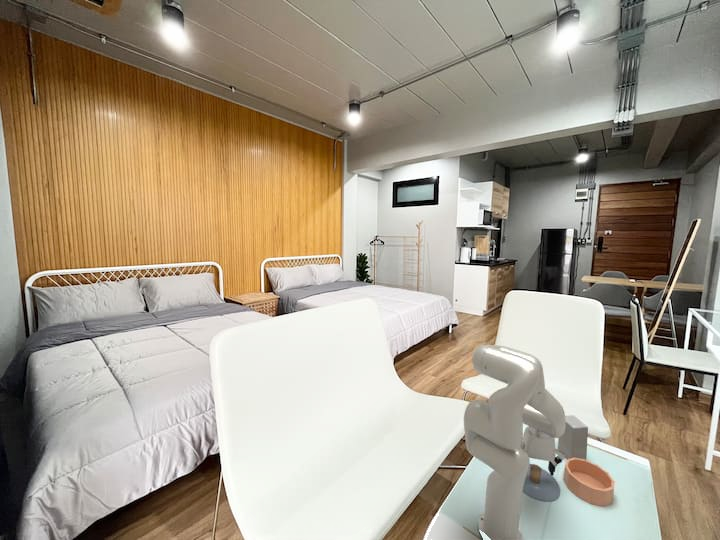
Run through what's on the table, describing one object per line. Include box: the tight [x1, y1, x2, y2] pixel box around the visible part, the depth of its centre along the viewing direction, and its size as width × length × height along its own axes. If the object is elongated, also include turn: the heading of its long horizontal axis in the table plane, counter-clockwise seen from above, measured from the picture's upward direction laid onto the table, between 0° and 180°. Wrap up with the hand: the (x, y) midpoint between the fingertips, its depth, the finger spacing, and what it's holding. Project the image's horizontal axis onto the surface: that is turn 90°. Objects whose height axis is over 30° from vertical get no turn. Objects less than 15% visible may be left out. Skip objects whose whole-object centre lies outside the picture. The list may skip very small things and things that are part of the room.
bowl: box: [562, 458, 616, 507], centre depth 106 cm, size 14×14×6 cm
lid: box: [523, 463, 561, 503], centre depth 108 cm, size 16×16×6 cm
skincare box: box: [557, 415, 589, 460], centre depth 120 cm, size 8×7×16 cm
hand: (536, 469), depth 108 cm, fingers open, 9 cm apart
